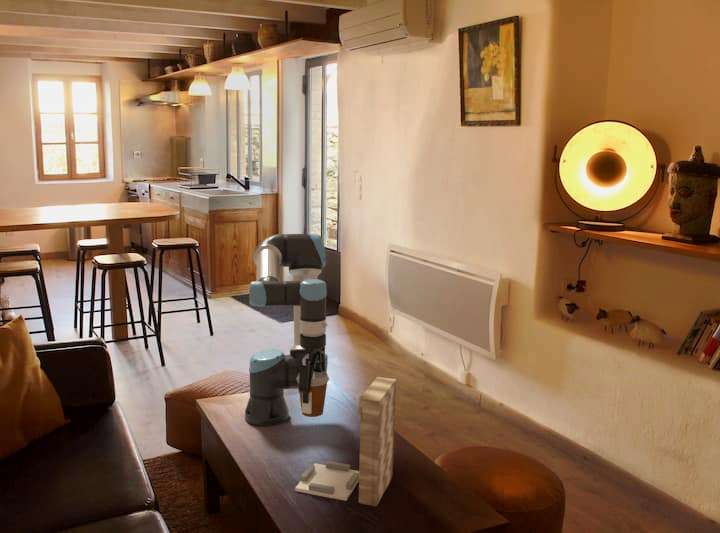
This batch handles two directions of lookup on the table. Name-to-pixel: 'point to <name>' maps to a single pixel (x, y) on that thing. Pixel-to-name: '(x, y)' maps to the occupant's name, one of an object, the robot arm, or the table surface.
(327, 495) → the seat plate
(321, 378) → the disposable coffee cup
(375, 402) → the upright plywood slab
